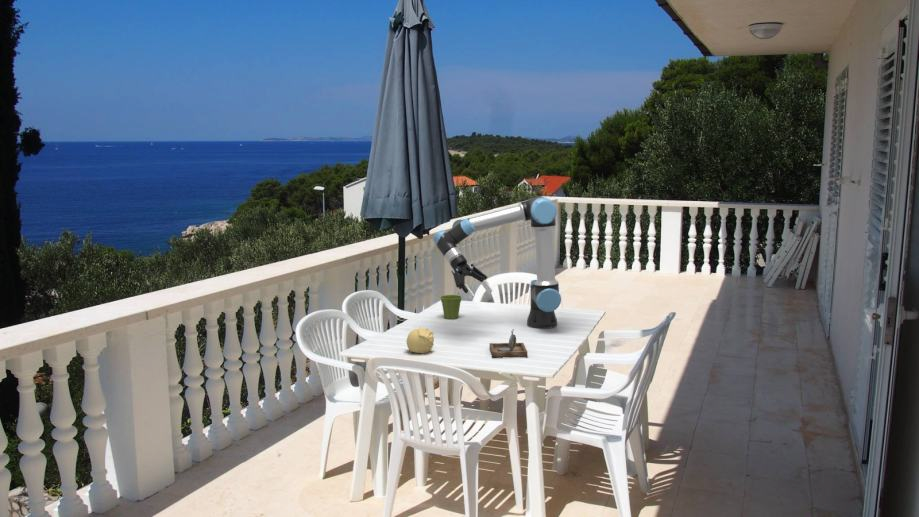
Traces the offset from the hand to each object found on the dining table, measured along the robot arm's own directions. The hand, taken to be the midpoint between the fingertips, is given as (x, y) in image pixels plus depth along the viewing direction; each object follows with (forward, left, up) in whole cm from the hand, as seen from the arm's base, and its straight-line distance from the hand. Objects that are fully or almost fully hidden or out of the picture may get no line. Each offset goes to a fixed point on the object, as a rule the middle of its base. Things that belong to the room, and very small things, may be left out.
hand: (481, 294), depth 345 cm
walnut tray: (-10, +21, -22) cm, 32 cm away
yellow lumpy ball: (+28, +16, -22) cm, 39 cm away
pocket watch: (-10, +21, -21) cm, 31 cm away
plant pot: (+13, -49, -22) cm, 55 cm away
